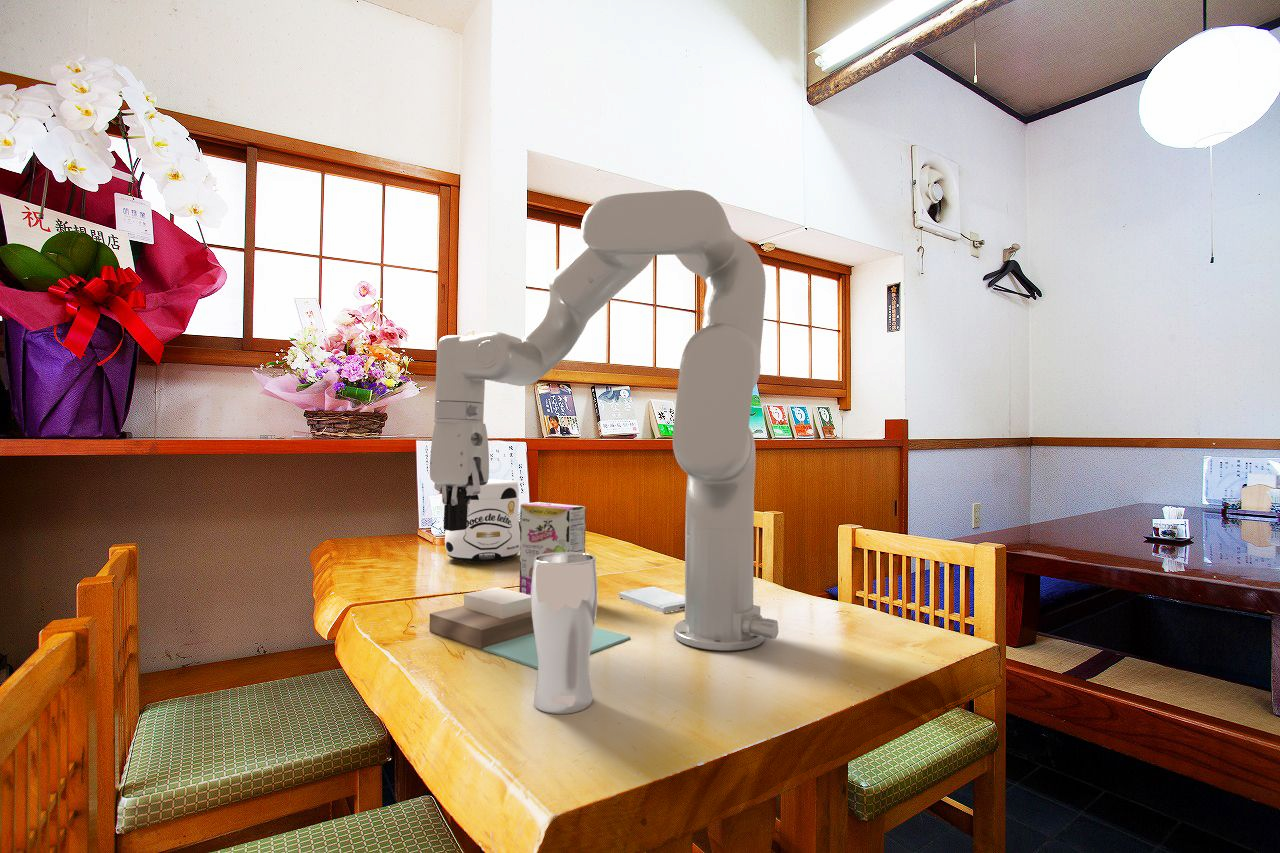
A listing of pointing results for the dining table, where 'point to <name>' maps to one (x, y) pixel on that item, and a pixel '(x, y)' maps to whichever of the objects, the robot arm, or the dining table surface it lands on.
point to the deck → (479, 626)
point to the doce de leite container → (488, 525)
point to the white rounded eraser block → (498, 602)
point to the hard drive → (655, 599)
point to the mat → (526, 651)
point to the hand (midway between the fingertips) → (455, 529)
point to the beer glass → (563, 629)
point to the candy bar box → (548, 534)
